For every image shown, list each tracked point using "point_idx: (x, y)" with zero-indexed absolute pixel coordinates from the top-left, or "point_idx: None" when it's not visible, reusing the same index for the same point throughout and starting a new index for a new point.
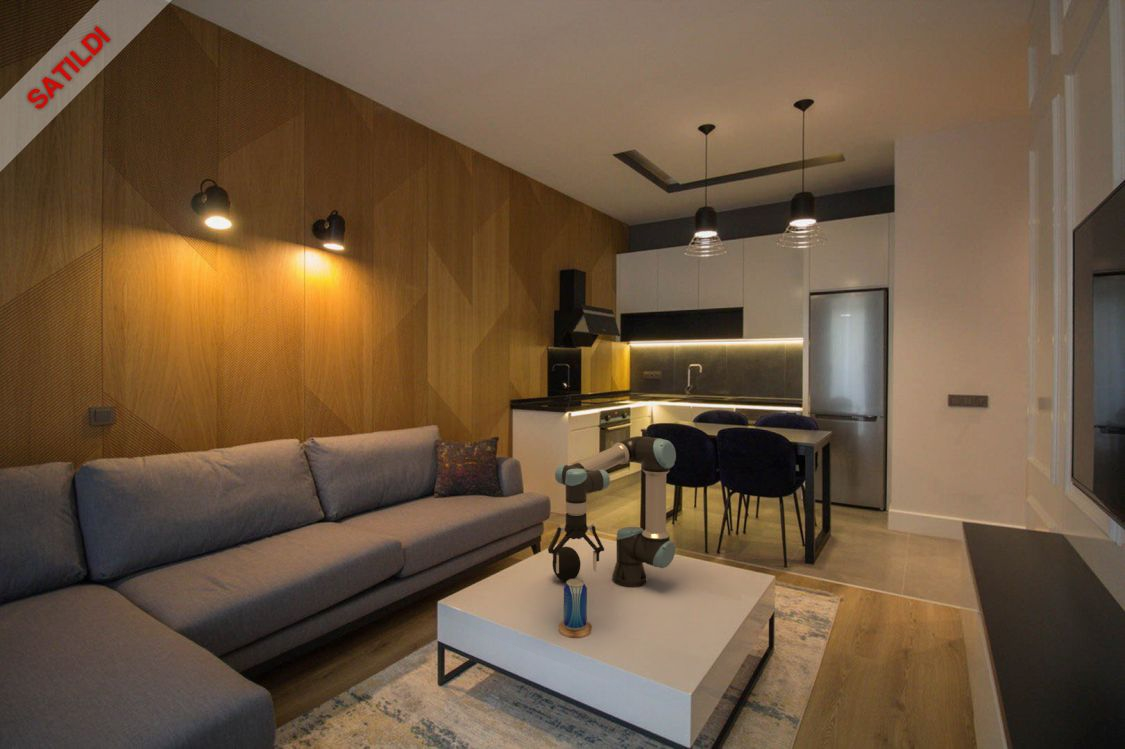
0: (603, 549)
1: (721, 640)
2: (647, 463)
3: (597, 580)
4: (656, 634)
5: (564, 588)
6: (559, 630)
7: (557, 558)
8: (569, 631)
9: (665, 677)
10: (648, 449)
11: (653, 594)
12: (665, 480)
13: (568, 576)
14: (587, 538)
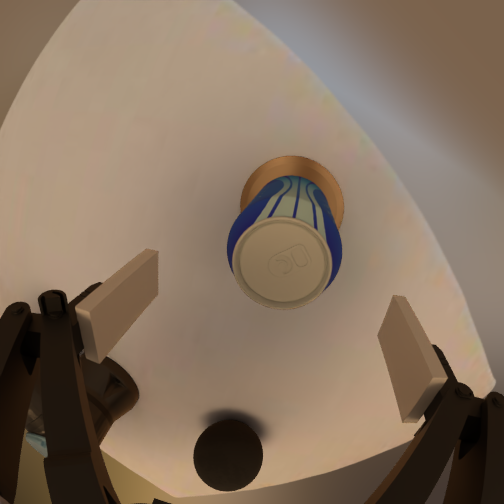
0: (12, 306)
1: (14, 106)
2: None
3: (169, 405)
4: (93, 136)
5: (340, 260)
6: (343, 205)
7: (433, 359)
8: (318, 183)
9: None
10: None
11: None
12: None
13: (233, 426)
14: (56, 456)
